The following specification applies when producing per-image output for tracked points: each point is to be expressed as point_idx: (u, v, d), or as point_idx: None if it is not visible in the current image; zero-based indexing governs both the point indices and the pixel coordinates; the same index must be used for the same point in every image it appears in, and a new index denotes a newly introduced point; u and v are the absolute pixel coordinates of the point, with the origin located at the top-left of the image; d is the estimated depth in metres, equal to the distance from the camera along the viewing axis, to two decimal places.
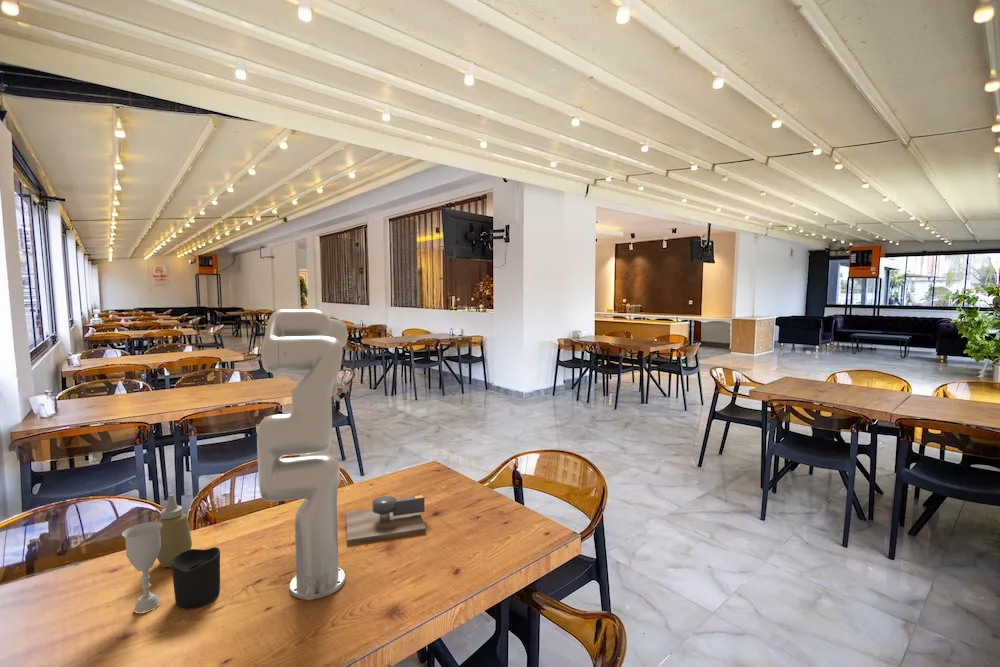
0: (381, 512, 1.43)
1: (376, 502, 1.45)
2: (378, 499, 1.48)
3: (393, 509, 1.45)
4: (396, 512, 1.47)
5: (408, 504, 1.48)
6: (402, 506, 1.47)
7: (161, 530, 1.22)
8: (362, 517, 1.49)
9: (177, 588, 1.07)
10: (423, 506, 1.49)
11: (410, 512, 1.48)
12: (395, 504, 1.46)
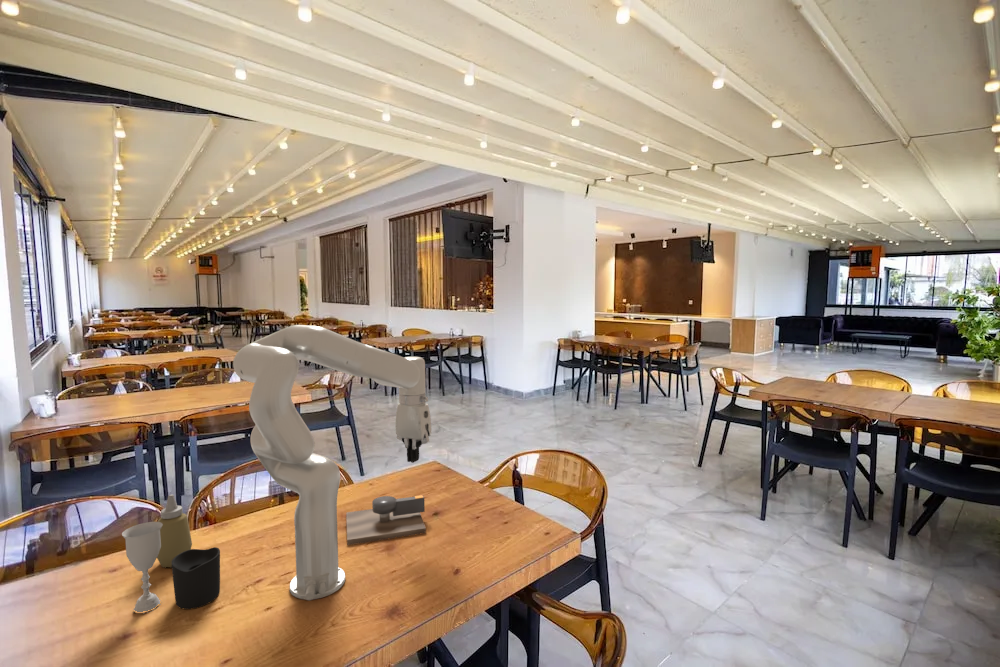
0: (381, 512, 1.43)
1: (376, 502, 1.45)
2: (378, 499, 1.48)
3: (393, 509, 1.45)
4: (396, 512, 1.47)
5: (408, 504, 1.48)
6: (402, 506, 1.47)
7: (161, 530, 1.22)
8: (362, 517, 1.49)
9: (177, 588, 1.07)
10: (423, 506, 1.49)
11: (410, 512, 1.48)
12: (395, 504, 1.46)
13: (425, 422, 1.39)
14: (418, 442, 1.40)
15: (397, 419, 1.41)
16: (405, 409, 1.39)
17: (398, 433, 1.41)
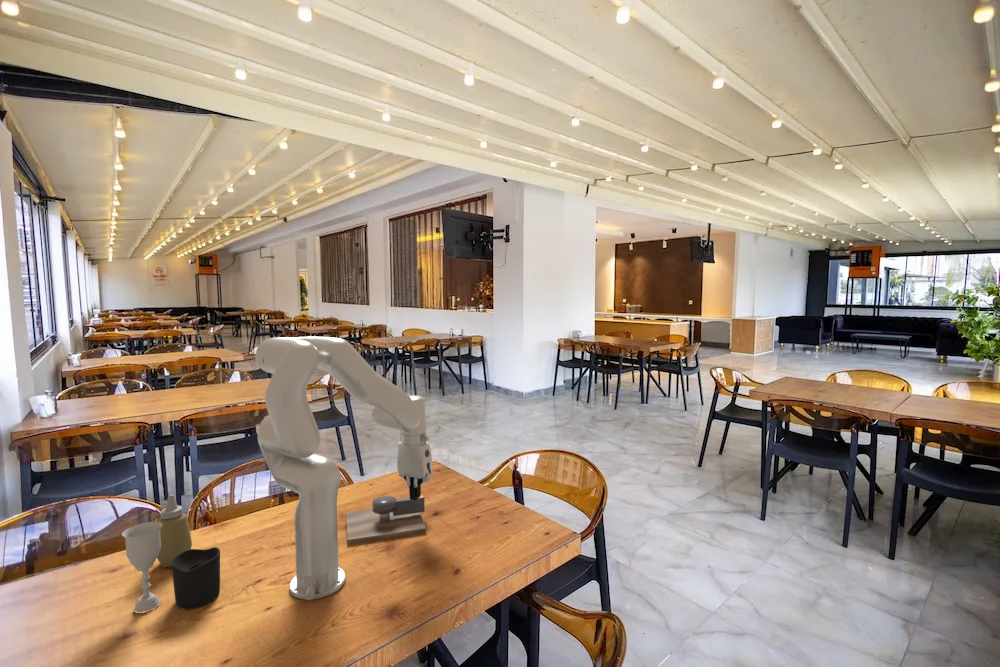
0: (381, 512, 1.43)
1: (376, 502, 1.45)
2: (378, 499, 1.48)
3: (393, 509, 1.45)
4: (396, 512, 1.47)
5: (408, 504, 1.48)
6: (402, 506, 1.47)
7: (161, 530, 1.22)
8: (362, 517, 1.49)
9: (177, 588, 1.07)
10: (423, 506, 1.49)
11: (410, 512, 1.48)
12: (395, 504, 1.46)
13: (427, 461, 1.40)
14: (419, 480, 1.41)
15: (398, 458, 1.42)
16: (406, 448, 1.40)
17: (400, 471, 1.43)
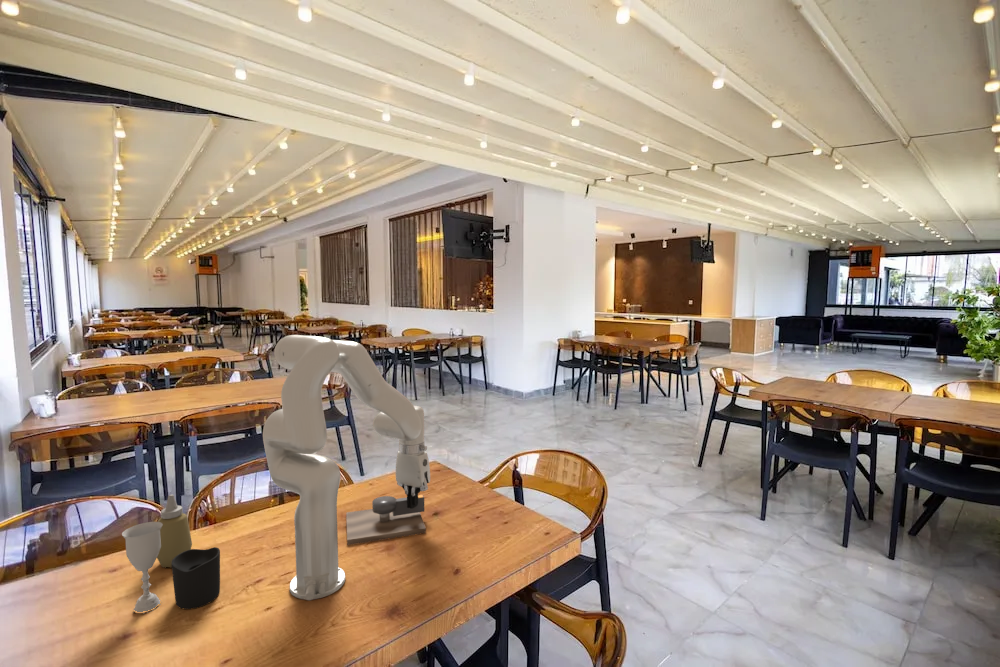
0: (381, 512, 1.43)
1: (376, 502, 1.45)
2: (378, 499, 1.47)
3: (393, 509, 1.45)
4: (396, 512, 1.47)
5: None
6: (402, 506, 1.47)
7: (161, 530, 1.22)
8: (362, 517, 1.49)
9: (177, 588, 1.07)
10: (423, 506, 1.50)
11: (410, 512, 1.48)
12: (395, 504, 1.46)
13: (424, 470, 1.43)
14: (417, 489, 1.44)
15: (397, 466, 1.45)
16: (404, 457, 1.43)
17: (398, 480, 1.46)
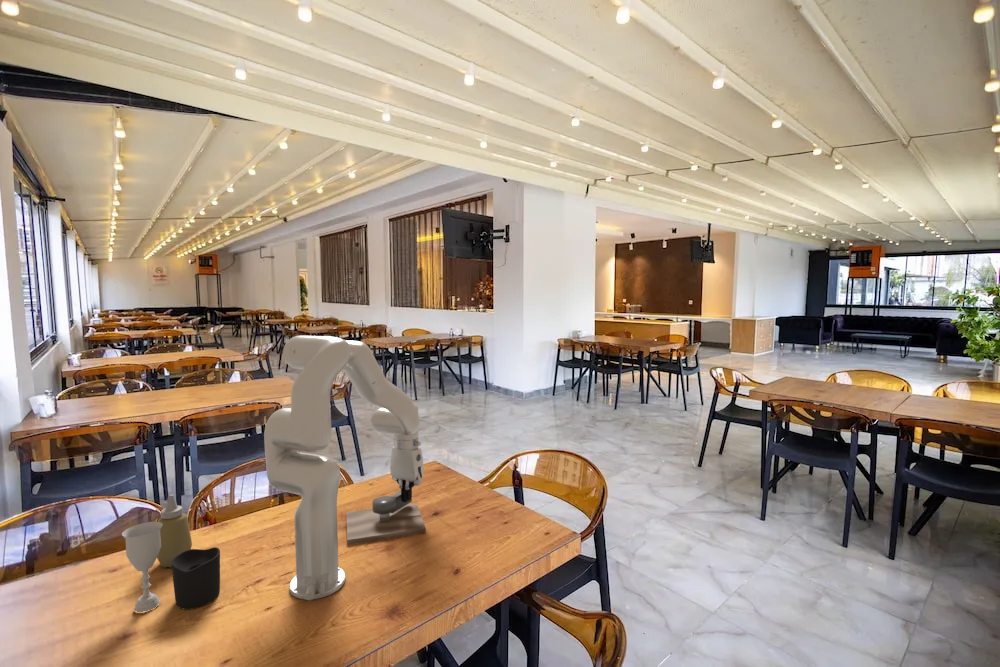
0: (390, 511, 1.44)
1: (380, 504, 1.44)
2: (376, 501, 1.46)
3: None
4: None
5: None
6: (398, 501, 1.51)
7: (161, 530, 1.22)
8: (362, 517, 1.49)
9: (177, 588, 1.07)
10: None
11: (403, 505, 1.53)
12: None
13: (418, 465, 1.48)
14: (411, 483, 1.49)
15: (392, 461, 1.51)
16: (399, 452, 1.49)
17: (393, 474, 1.51)
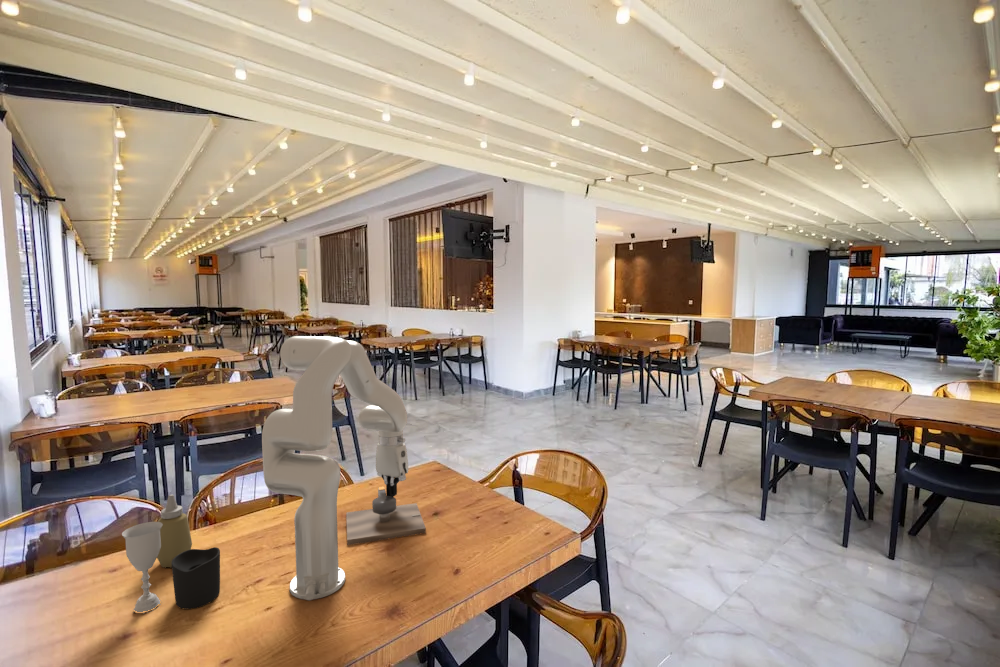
0: (395, 507, 1.47)
1: (386, 503, 1.44)
2: (379, 503, 1.44)
3: None
4: None
5: None
6: None
7: (161, 530, 1.22)
8: (362, 517, 1.49)
9: (177, 588, 1.07)
10: None
11: None
12: None
13: (402, 461, 1.51)
14: (396, 479, 1.52)
15: (377, 458, 1.54)
16: (383, 449, 1.52)
17: (378, 470, 1.54)
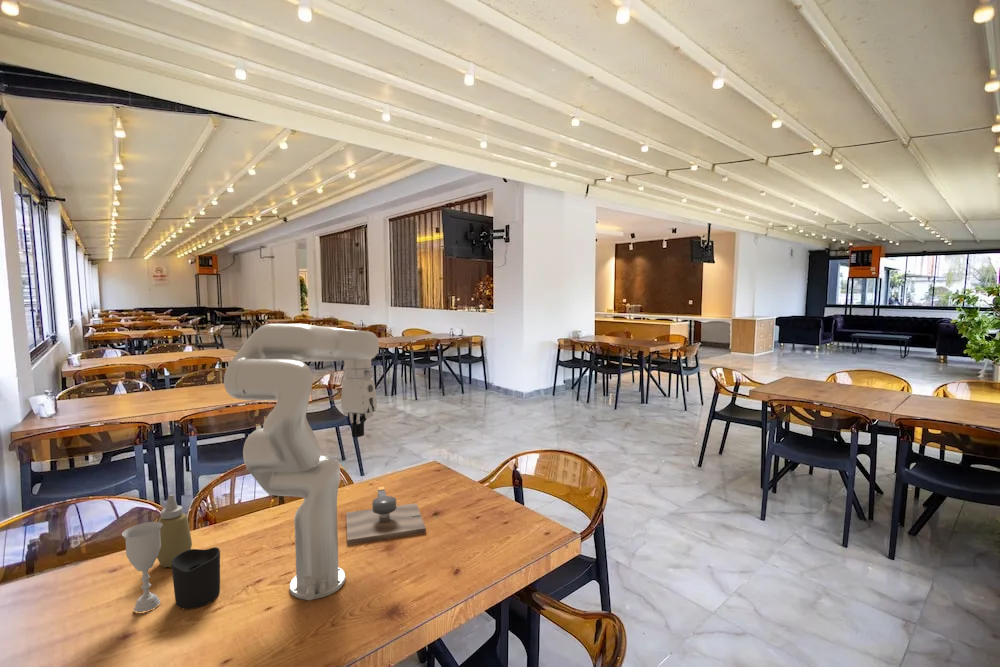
0: (395, 507, 1.47)
1: (386, 503, 1.44)
2: (379, 503, 1.44)
3: None
4: None
5: None
6: None
7: (161, 530, 1.22)
8: (362, 517, 1.49)
9: (177, 588, 1.07)
10: None
11: None
12: None
13: (369, 396, 1.39)
14: (362, 416, 1.40)
15: (342, 394, 1.41)
16: (349, 383, 1.40)
17: (343, 408, 1.42)
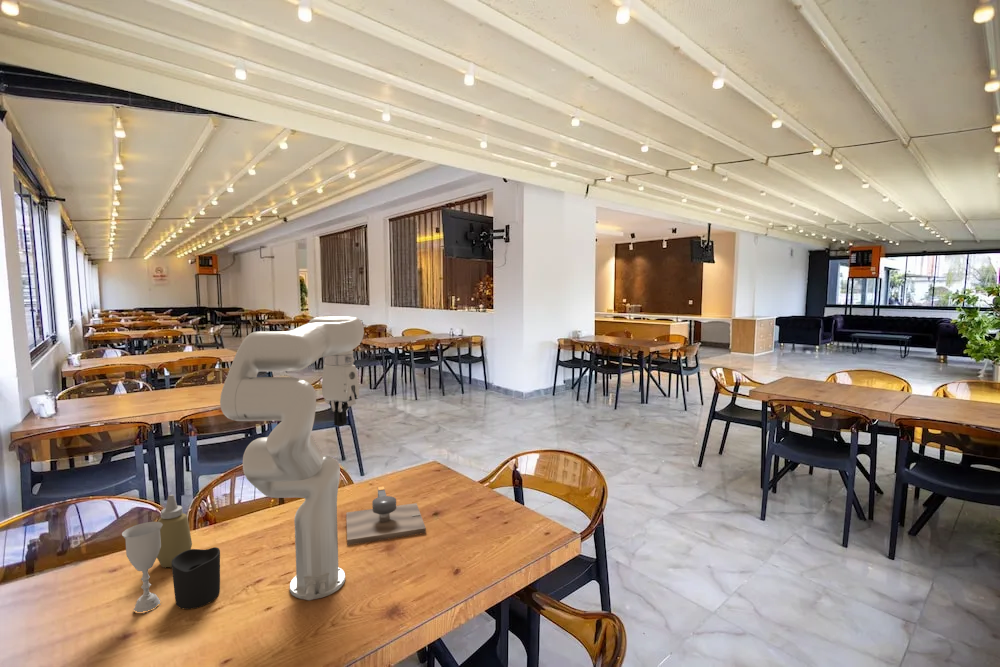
0: (395, 507, 1.47)
1: (386, 503, 1.44)
2: (379, 503, 1.44)
3: None
4: None
5: None
6: None
7: (161, 530, 1.22)
8: (362, 517, 1.49)
9: (177, 588, 1.07)
10: None
11: None
12: None
13: (351, 383, 1.33)
14: (344, 404, 1.35)
15: (323, 381, 1.36)
16: (330, 370, 1.34)
17: (324, 396, 1.36)
